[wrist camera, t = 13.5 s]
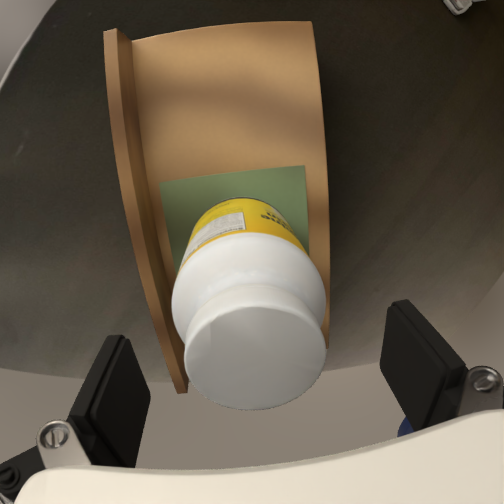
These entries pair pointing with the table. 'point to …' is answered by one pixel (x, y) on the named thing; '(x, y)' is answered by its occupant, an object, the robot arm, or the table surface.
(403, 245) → the table surface
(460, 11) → the strap clip
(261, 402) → the pill bottle
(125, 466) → the robot arm
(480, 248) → the table surface
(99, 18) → the table surface
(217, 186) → the shelf
